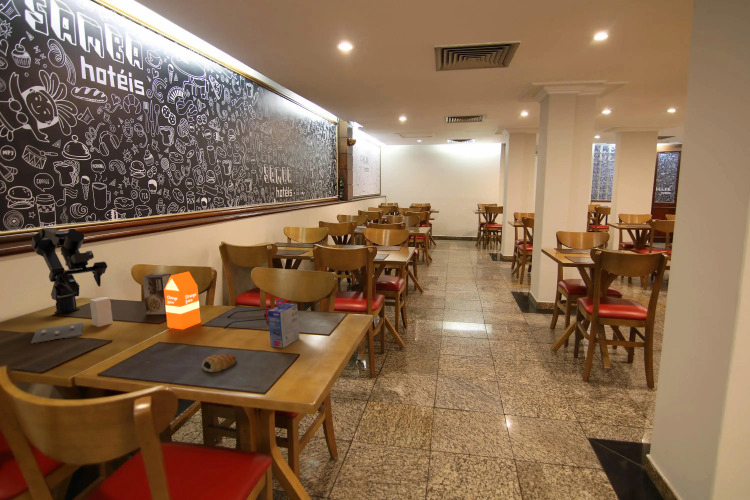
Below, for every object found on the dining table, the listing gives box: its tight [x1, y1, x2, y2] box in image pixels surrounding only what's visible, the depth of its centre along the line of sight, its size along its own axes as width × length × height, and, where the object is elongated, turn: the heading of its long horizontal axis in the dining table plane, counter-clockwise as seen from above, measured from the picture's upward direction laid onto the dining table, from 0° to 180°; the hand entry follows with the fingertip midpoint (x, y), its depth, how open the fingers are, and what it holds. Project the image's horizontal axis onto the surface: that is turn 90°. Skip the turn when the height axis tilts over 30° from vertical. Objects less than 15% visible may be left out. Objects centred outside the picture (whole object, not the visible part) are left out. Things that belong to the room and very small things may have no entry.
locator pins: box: [42, 325, 74, 336], centre depth 148 cm, size 5×9×2 cm, turn 123°
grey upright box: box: [142, 273, 172, 315], centre depth 173 cm, size 9×6×16 cm
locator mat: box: [30, 322, 84, 344], centre depth 150 cm, size 16×14×1 cm
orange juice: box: [164, 271, 201, 330], centre depth 156 cm, size 8×9×20 cm
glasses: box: [223, 304, 270, 330], centre depth 160 cm, size 14×16×5 cm
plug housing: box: [89, 296, 114, 328], centre depth 159 cm, size 5×5×10 cm
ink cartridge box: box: [267, 298, 300, 349], centre depth 136 cm, size 10×6×14 cm, turn 158°
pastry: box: [201, 353, 237, 373], centre depth 119 cm, size 9×7×4 cm
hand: (86, 288), depth 162 cm, fingers open, 9 cm apart
